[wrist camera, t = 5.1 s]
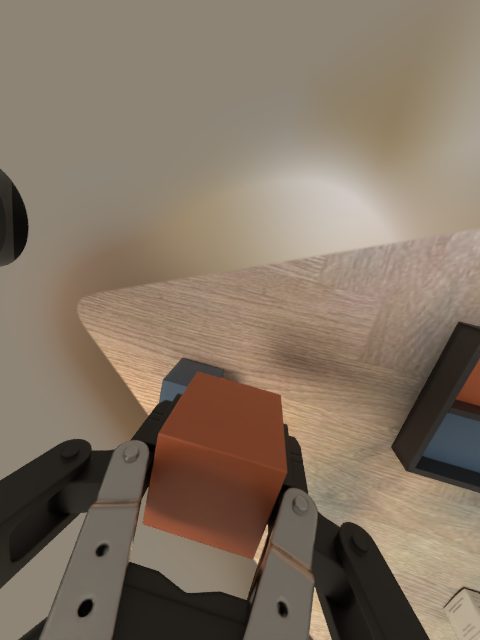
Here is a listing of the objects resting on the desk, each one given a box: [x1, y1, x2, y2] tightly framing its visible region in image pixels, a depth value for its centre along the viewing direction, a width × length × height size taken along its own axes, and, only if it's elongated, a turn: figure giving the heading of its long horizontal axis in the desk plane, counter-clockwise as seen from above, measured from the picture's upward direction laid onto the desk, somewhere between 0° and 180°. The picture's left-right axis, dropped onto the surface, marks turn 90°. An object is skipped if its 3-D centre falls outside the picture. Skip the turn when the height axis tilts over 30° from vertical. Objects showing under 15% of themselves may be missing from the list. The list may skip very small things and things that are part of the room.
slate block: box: [159, 358, 224, 403], centre depth 23 cm, size 5×5×5 cm
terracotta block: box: [143, 372, 287, 559], centre depth 11 cm, size 5×5×5 cm
